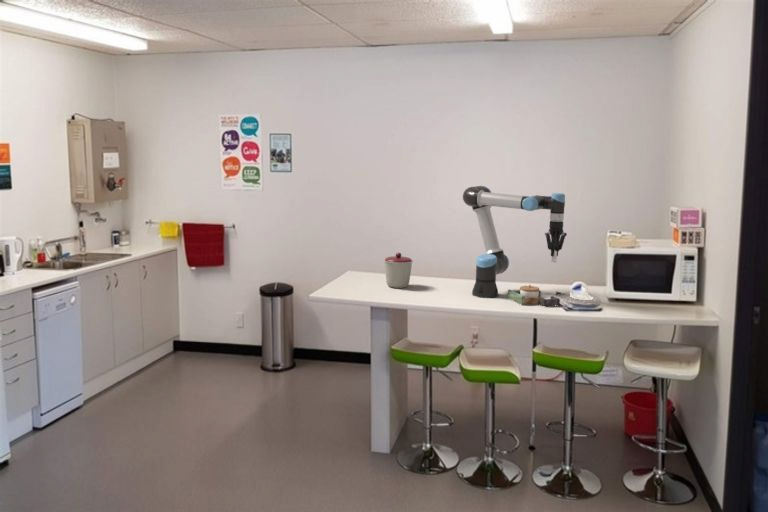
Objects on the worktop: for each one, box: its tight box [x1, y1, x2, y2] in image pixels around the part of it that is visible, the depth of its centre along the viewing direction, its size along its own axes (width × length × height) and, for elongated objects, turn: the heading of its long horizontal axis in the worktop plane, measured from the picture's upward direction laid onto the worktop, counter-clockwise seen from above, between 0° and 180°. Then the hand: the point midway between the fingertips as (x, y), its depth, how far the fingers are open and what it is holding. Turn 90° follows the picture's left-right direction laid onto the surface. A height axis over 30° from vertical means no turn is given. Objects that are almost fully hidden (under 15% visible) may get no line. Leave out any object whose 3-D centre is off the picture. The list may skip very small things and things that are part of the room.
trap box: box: [507, 289, 561, 307], centre depth 382 cm, size 20×29×5 cm
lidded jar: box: [519, 284, 540, 297], centre depth 381 cm, size 11×11×9 cm
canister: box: [383, 252, 414, 289], centre depth 412 cm, size 18×18×21 cm
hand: (553, 261), depth 382 cm, fingers closed
